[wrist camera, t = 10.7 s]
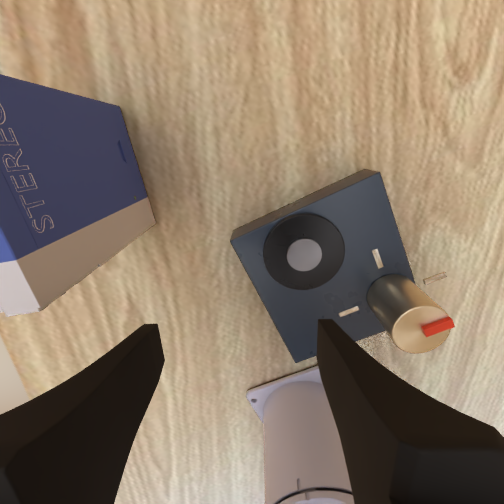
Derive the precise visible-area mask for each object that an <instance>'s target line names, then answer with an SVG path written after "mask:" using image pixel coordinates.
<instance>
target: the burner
mask: <svg viewBox="0 0 504 504" xmlns="http://www.w3.org/2000/svg"><path fill="white" fill-rule="evenodd" d="M344 255H345V244H344V240H343V237H342V235H341V233H340V231H339V230H338V228H337V227H336V226H335V225H334V224H333V223H332V222H331V221H330V220H328V219H327V218H325V217H323V216H321V215H318V214H314V213H297V214H293V215H290V216H287V217H285V218H284V219H282V220H280V221H279V222H278V223H277V224H275V225H274V226H273V228H272V229H271V230H270V231H269V233H268V235H267V237H266V239H265V242H264V247H263V259H264V264H265V267H266V269H267V271H268V273H269V274H270V275H271V277H272V278H273V279H274V280H275V281H276V282H278V283H279V284H281V285H283V286H285V287H287V288H290V289H295V290H309V289H314V288H317V287H319V286H321V285H324V284H325V283H327V282H328V281H329V280H331V279H332V278H333V277H334V276H335V275H336V273H337V272H338V271H339V269H340V267H341V265H342V263H343V260H344Z"/></svg>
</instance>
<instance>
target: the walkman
mask: <svg viewBox="0 0 504 504" xmlns="http://www.w3.org/2000/svg"><path fill="white" fill-rule="evenodd" d="M155 224H156V222H155V219H154V215H153V212H152V209H151V206H150V202H149V199H148V197H147V193H146V190H145V187H144V184H143V181H142V177H141V174H140V171H139V168H138V164H137V161H136V158H135V155H134V152H133V148H132V145H131V142H130V139H129V136H128V132H127V129H126V126H125V123H124V120H123V116H122V113H121V110H120V107H119V106H116V105H112V104H108V103H105V102H101V101H97V100H94V99H90V98H86V97H82V96H79V95H75V94H71V93H68V92H64V91H60V90H56V89H53V88H49V87H45V86H42V85H38V84H34V83H30V82H27V81H23V80H19V79H15V78H12V77H8V76H4V75H1V74H0V313H1V312H4V313H5V315H6V316H7V317H8V316H14V315H21V314H27V313H34V312H40V311H41V310H43V309H45V308H46V307H47V306H48V305H49V304H50V303H52V302H53V301H54V300H56V299H57V298H58V297H60V296H62V295H63V294H64V293H66V291H67V290H69V289H70V288H71V287H73V286H74V285H75V284H77V283H79V282H80V281H81V280H82V279H84V278H85V277H86V276H88V275H89V274H90V273H92V271H94V270H95V269H96V268H97V267H99V266H102V265H103V264H104V263H105V262H107V261H108V260H109V259H111V258H112V257H113V256H115V255H116V254H117V253H118V252H120V251H121V250H122V249H124V248H125V247H126V246H127V245H129V244H130V243H131V242H133V241H134V240H135V239H136V238H138V237H139V236H140V235H142V234H143V233H144V232H146V231H147V230H148V229H149V228H151V227H152V226H153V225H155Z"/></svg>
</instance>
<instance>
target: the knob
mask: <svg viewBox="0 0 504 504" xmlns="http://www.w3.org/2000/svg"><path fill="white" fill-rule="evenodd" d="M367 302H368V305H369V307H370V308H371V310H372V311H373V313H374V314H375V316H376V317H377V319H378V320H379V321H380V323H381V324H382V326H383V327H384V329H385V330H386V332H387V333H388V335H389V336H390V338H391V339H392V341H393V342H394V343H395V345H396V346H397V347H398V348H400V349H401V350H403V351H405V352H409V353H424V352H428V351H430V350H433V349H435V348H436V347H438V346H439V345H441V344H442V343H443V342H444V341H445V340H446V338H447V337H448V335H449V333H450V329H451V328H453V327H455V326H454V323H453V320H452V319H451V318H450V317H449V316H448V314H447V313H446V312H445V311H444V310H443V309H442V308H441V307H440V306H439V305H437V304H436V303H435V302H434V301H433V300H432V299H431V298H430V297H429V296H427V295H426V294H425V293H424V292H423V291H422V290H421V289H420V288H419V287H417V286H416V285H415V284H414V283H413V282H412V281H411V280H410V279H408V278H407V277H405V276H403V275H398V274H391V275H386V276H383V277H381V278H379V279H378V280H376V281H375V282H374V283H373V284H372V285H371V287H370V288H369V291H368V294H367Z"/></svg>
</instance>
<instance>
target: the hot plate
mask: <svg viewBox="0 0 504 504" xmlns="http://www.w3.org/2000/svg"><path fill="white" fill-rule="evenodd" d="M297 213H314V214H318V215H321V216H323V217H325V218H327V219H328V220H330V221H331V222H332V223H333V224H334V225H335V226H336V227H337V228H338V230H339V231H340V233H341V235H342V237H343V240H344V244H345V255H344V260H343V263H342V265H341V267H340V269H339V271H338V272H337V273H336V275H335V276H334V277H333V278H332V279H331V280H329V281H328V282H327V283H325V284H324V285H321V286H319V287H317V288H314V289H309V290H295V289H290V288H287V287H285V286H283V285H281V284H279V283H278V282H276V281H275V280H274V279H273V278H272V277H271V275H270V274H269V273H268V271H267V269H266V267H265V264H264V259H263V247H264V242H265V239H266V237H267V235H268V233H269V231H270V230H271V229H272V228H273V226H274V225H275V224H277V223H278V222H279V221H280V220H282V219H284V218H285V217H287V216H290V215H293V214H297ZM230 242H231V244H232V246H233V248H234V250H235V252H236V253H237V255H238V257H239V259H240V261H241V263H242V265H243V266H244V268H245V270H246V272H247V274H248V276H249V278H250V280H251V281H252V283H253V285H254V287H255V289H256V291H257V293H258V294H259V296H260V298H261V300H262V302H263V304H264V306H265V307H266V309H267V311H268V313H269V315H270V317H271V319H272V320H273V322H274V324H275V326H276V328H277V330H278V332H279V333H280V335H281V337H282V339H283V341H284V343H285V345H286V346H287V348H288V350H289V352H290V354H291V356H292V358H293V359H294V361H295V363H297V362H300V361H303V360H306V359H308V358H311V357H314V356H317V332H318V319H333V320H334V321H335V322H336V323H337V324H338V325H339V326H340V327H341V328H342V329H343V330H344V331H345V332H346V333H347V334H348V335H349V336H350V337H351V338H352V339H353V340H354V341H358V340H361V339H364V338H367V337H369V336H372V335H375V334H378V333H380V332H383V331H386V330H385V329H384V327H383V326H382V324H381V323H380V321H379V320H378V319H377V317H376V316H375V314H374V313H373V311H372V310H371V308H370V307H369V305H368V302H367V294H368V291H369V288H370V287H371V285H372V284H373V283H374V282H375V281H376V280H378V279H379V278H381V277H383V276H386V275H391V274H398V275H403V276H405V277H407V278H408V279H410V280H411V281H412V282H413V283H414V284H415V281H414V278H413V275H412V271H411V268H410V265H409V262H408V259H407V256H406V253H405V249H404V246H403V243H402V240H401V237H400V234H399V231H398V227H397V224H396V221H395V218H394V215H393V212H392V209H391V205H390V202H389V199H388V196H387V193H386V190H385V187H384V183H383V180H382V177H381V174H380V172H377V171H372V170H368V169H363V170H361V171H359V172H357V173H355V174H353V175H351V176H348V177H346V178H344V179H342V180H340V181H338V182H336V183H333V184H331V185H329V186H327V187H325V188H323V189H321V190H318V191H316V192H314V193H312V194H310V195H308V196H306V197H303V198H301V199H299V200H297V201H295V202H293V203H291V204H288V205H286V206H284V207H282V208H280V209H278V210H276V211H273V212H271V213H269V214H267V215H265V216H263V217H261V218H258V219H256V220H254V221H252V222H250V223H248V224H246V225H243V226H241V227H239V228H237V229H235V230H233V233H232V236H231V240H230ZM445 277H447V276H446V273H445V272H442V273H439V274H436V275H434V276H431V277H429V278H426V279H423V281H424V284H425V285H426V284H429V283H432V282H434V281H437V280H440V279H442V278H445ZM415 285H416V284H415Z"/></svg>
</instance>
